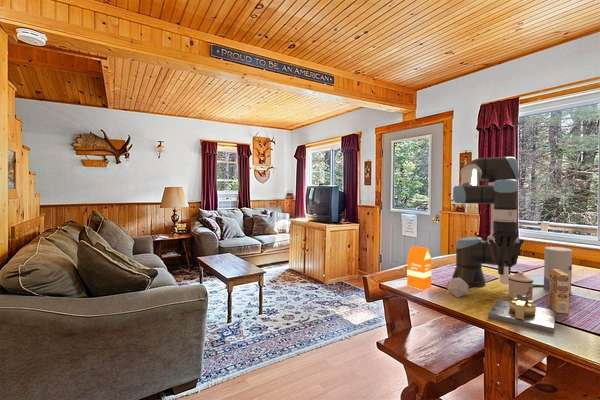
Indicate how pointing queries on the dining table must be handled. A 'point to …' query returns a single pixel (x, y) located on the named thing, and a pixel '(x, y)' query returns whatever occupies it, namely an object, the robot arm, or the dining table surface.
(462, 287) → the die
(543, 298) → the dining table surface
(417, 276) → the orange juice
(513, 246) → the robot arm
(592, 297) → the dining table surface
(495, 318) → the flange plate
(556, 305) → the candy box
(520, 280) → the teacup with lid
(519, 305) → the beige lumpy block
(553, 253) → the container
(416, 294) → the dining table surface
